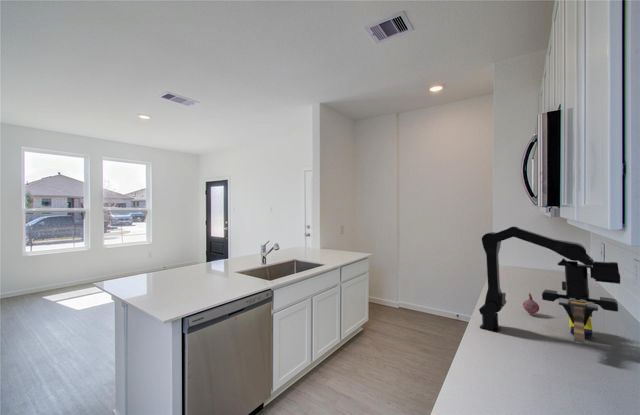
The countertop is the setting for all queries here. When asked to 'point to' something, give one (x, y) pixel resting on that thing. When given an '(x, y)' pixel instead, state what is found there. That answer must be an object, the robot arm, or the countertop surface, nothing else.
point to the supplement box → (587, 328)
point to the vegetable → (531, 305)
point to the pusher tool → (579, 321)
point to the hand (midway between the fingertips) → (579, 324)
